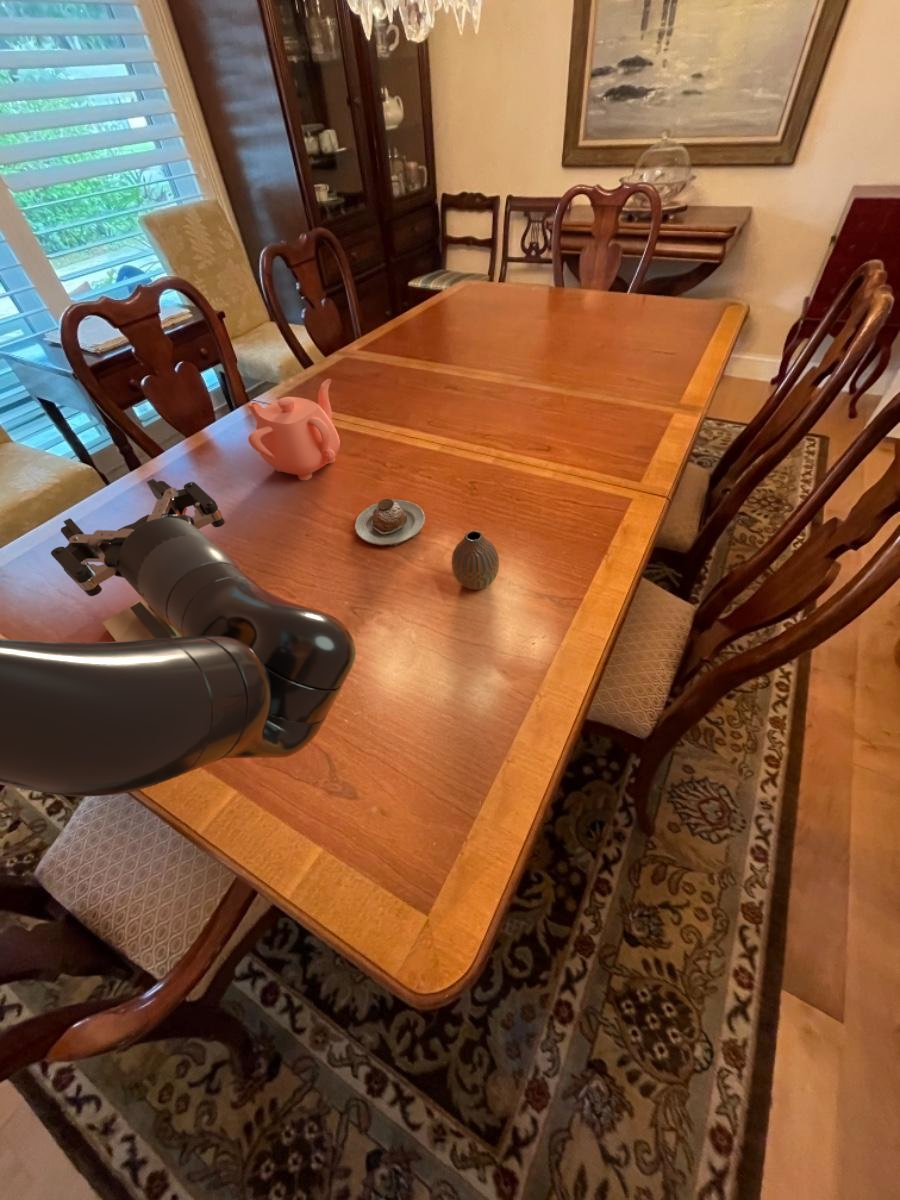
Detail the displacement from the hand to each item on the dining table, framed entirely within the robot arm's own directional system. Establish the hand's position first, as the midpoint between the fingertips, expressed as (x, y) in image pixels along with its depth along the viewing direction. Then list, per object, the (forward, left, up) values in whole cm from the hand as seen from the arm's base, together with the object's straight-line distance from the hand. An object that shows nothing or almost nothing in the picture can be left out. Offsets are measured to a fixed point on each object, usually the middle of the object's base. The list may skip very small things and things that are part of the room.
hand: (113, 506), depth 55 cm
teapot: (+32, +39, -26) cm, 57 cm away
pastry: (+34, +9, -26) cm, 44 cm away
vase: (+37, -11, -26) cm, 47 cm away
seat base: (-2, +10, -26) cm, 28 cm away
